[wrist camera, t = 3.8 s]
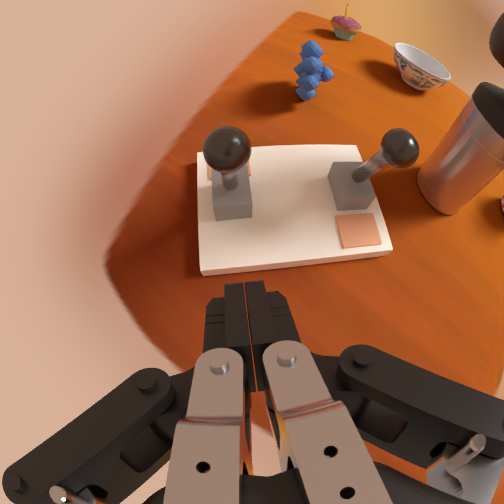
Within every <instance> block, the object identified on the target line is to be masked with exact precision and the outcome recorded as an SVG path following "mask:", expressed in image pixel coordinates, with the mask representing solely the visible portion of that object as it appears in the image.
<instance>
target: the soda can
mask: <svg viewBox="0 0 504 504" xmlns="http://www.w3.org/2000/svg"><path fill="white" fill-rule="evenodd" d="M501 204H502V211H503V214H504V196H503V197H502V199H501Z"/></svg>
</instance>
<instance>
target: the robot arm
mask: <svg viewBox="0 0 504 504" xmlns="http://www.w3.org/2000/svg"><path fill="white" fill-rule="evenodd" d="M489 44H490V50H491V52H492V54H493V56H494V57H495V59H496V60H497V61H498V63H499V64H501V66H502V67H503V68H504V13H503V14H502V15H501V17H500V18H499V19H498V21H497V22H496V24H495V26H494V28H493V30H492V32H491V35H490V42H489ZM503 169H504V89H502V88H500V87H497V86H496V85H493V84H491V83H488V82H482V83H480V84H479V85H478V86H477V88H476V89H475V91H474V93H473V94H472V96H471V98H470V99H469V101H468V102H467V104H466V105H465V107H464V108H463V110H462V112H461V113H460V115H459V116H458V118H457V119H456V120H455V122H454V123H453V125H452V126H451V128H450V129H449V131H448V132H447V133H446V135H445V136H444V138H443V139H442V140H441V142H440V143H439V144H438V146H437V147H436V149H435V150H434V151H433V153H432V154H431V155H430V156H429V158H428V159H427V160H426V162H425V163H424V164H423V166H422V167H421V168H420V170H419V171H418V174H417V182H418V186H419V188H420V191H421V193H422V195H423V196H424V198H425V199H426V200H427V202H428V203H429V204H430V205H431V206H432V207H433V208H435V209H436V210H437V211H439V212H441V213H443V214H446V215H452V214H455V213H456V212H457V211H459V210H460V209H461V208H462V207H463V206H464V205H465V204H467V203H468V202H469V201H470V200H471V199H472V198H473V197H475V196H476V195H477V194H478V193H479V192H480V191H481V190H482V189H483V188H484V187H485V186H486V185H487V184H488V183H489V182H490V181H492V180H493V179H494V178H495V177H496V176H497V175H498V174H499V173H500V172H501V171H502V170H503ZM245 292H246V301H247V310H248V319H249V327H248V319H247V311H246V303H245V295H244V287H243V282H242V283H233V284H225V297H220V298H212V300H211V301H210V302H209V304H208V305H207V307H206V319H205V332H204V346H203V354H202V355H201V356H200V357H199V358H198V359H197V361H196V364H195V367H193V368H192V369H190V370H188V371H186V372H183V373H180V374H177V375H173V376H170V377H169V376H168V374H167V373H166V372H164V371H163V370H161V369H158V368H146V369H142V370H139V371H137V372H136V373H134V374H133V375H131V376H130V377H129V378H128V379H126V380H125V381H124V382H123V383H121V384H120V385H119V386H117V387H116V388H115V389H114V390H112V391H111V392H110V393H108V394H107V395H106V396H104V397H103V398H102V399H101V400H99V401H98V402H97V403H95V404H94V405H93V406H91V407H90V408H89V409H88V410H86V411H85V412H83V413H82V414H81V415H79V416H78V417H77V418H76V419H74V420H73V421H72V422H70V423H69V424H67V425H66V426H65V427H63V428H62V429H61V430H59V431H58V432H57V433H55V434H54V435H53V436H51V437H50V438H49V439H47V440H46V441H44V442H43V443H42V444H40V445H39V446H37V447H36V448H35V449H33V450H32V451H31V452H29V453H28V454H26V455H25V456H24V457H22V458H21V459H19V460H18V461H17V462H15V463H14V464H12V465H11V466H9V467H8V468H7V469H6V470H5V472H4V475H3V479H2V485H3V489H4V492H5V494H6V496H7V497H8V499H9V500H10V501H12V502H13V503H14V504H120V503H121V502H122V501H123V500H124V499H126V498H127V497H128V496H129V495H130V494H132V493H133V492H134V491H135V490H136V489H138V488H139V487H140V486H141V485H142V484H143V483H145V482H146V481H147V480H148V479H149V478H150V477H151V476H152V475H154V474H155V473H156V472H157V471H158V470H159V469H160V468H161V467H162V466H163V465H164V464H166V463H167V462H168V461H169V460H170V463H169V469H168V475H167V481H166V486H165V487H164V488H162V489H160V490H158V491H157V492H155V493H154V494H152V495H151V496H150V497H149V498H148V499H147V500H146V501H145V502H144V503H142V504H490V502H491V500H492V497H493V495H494V492H495V490H496V487H497V484H498V482H499V479H500V476H501V473H502V470H503V467H504V400H502V399H498V398H496V397H493V396H491V395H488V394H485V393H483V392H480V391H477V390H475V389H472V388H470V387H467V386H464V385H462V384H459V383H457V382H454V381H452V380H449V379H447V378H444V377H442V376H439V375H437V374H435V373H432V372H430V371H427V370H425V369H423V368H420V367H418V366H415V365H413V364H411V363H408V362H406V361H404V360H401V359H399V358H397V357H394V356H392V355H390V354H388V353H385V352H383V351H381V350H379V349H376V348H374V347H371V346H368V345H354V346H350V347H348V348H346V349H345V350H344V351H343V352H342V353H341V355H340V357H334V356H321V355H317V354H314V353H312V352H310V351H309V350H308V348H307V347H306V346H304V345H303V344H302V343H301V340H300V337H299V335H298V332H297V329H296V326H295V323H294V320H293V317H292V315H291V311H290V309H289V306H288V303H287V300H286V298H285V297H284V296H283V295H282V294H281V293H280V292H278V291H274V292H266V290H265V286H264V282H263V280H260V281H251V282H245ZM249 328H250V335H251V343H252V350H253V358H254V365H255V372H256V380H257V387H258V391H264V392H265V399H266V409H267V413H268V417H269V421H270V425H271V428H272V432H273V436H274V440H275V443H276V447H277V450H278V455H279V460H280V466H281V470H282V473H279V474H276V475H274V476H269V477H264V476H254V475H253V465H252V446H251V406H252V402H251V394H250V392H256V386H255V378H254V369H253V360H252V352H251V343H250V335H249ZM362 439H363V440H365V441H367V442H369V443H371V444H373V445H375V446H377V447H379V448H381V449H383V450H385V451H387V452H389V453H391V454H393V455H395V456H397V457H400V458H402V459H404V460H406V461H408V462H411V463H413V464H415V465H417V466H420V467H422V468H425V469H427V482H428V484H429V485H431V486H434V487H435V488H437V489H435V488H433V487H431V486H428V485H426V484H424V483H422V482H420V481H417V480H415V479H413V478H411V477H409V476H407V475H405V474H403V473H401V472H399V471H397V470H395V469H393V468H391V467H389V466H387V465H384V464H381V463H378V462H374V461H372V459H371V457H370V455H369V453H368V451H367V448H366V446H365V444H364V442H363V440H362Z"/></svg>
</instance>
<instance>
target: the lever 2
mask: <svg viewBox="0 0 504 504" xmlns="http://www.w3.org/2000/svg"><path fill="white" fill-rule="evenodd" d="M418 155H419V146H418V142H417V140H416V139H415V137H414V136H413V135H412V134H411V133H410V132H408V131H407V130H404V129H400V128H396V129H392V130H389V131H388V132H387V133H386V134H385V135H384V136H383V138H382V141H381V151H379V152H378V153H376V154H375V155H374V156H372V157H371V158H370V159H368V160H367V161H366V162H364V163H363V164H362V165H360V166H359V167H358V168H356V169H355V170H354V171H353V172H352V178H353V180H354V181H355V182H357V183H361V182H363V181H365V180H367V179H368V178H370V177H372V176H373V175H375V174H377V173H378V172H380V171H382V170H383V169H385V168H387V167H388V166H390V165H392V166H394V167H397V168H407V167H409V166H411V165H413V164H414V163H415V161H416V160H417V158H418Z"/></svg>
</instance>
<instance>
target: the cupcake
mask: <svg viewBox="0 0 504 504" xmlns="http://www.w3.org/2000/svg"><path fill="white" fill-rule="evenodd" d="M347 14H348V4H347V6H346V11H345V16H335V17H333V18H332V20H331V24H332V26H333V27H334V31H335V36H336V37H338V38H340V39H343V40H351V39H352V38H353V37H354V35H355V34H357V33H359V32H360V31H361V26H360V24H359V23H357V22H356V21H355V20H354V19H352V18H350V17H347Z"/></svg>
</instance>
